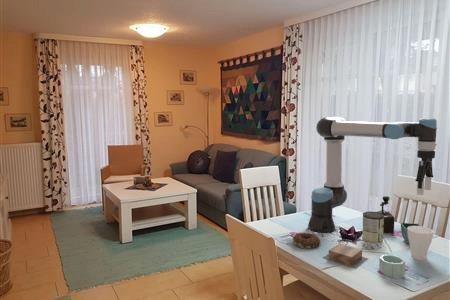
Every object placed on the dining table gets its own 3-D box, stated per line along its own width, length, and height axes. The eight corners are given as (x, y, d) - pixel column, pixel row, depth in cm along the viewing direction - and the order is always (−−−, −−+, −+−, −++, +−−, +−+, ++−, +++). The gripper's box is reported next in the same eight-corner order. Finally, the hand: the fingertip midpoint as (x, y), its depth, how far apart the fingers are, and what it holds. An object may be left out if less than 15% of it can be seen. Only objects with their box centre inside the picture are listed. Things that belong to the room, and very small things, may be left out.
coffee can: (361, 235, 187) (362, 210, 185) (381, 237, 183) (383, 212, 182) (362, 242, 177) (363, 216, 175) (384, 244, 174) (385, 218, 172)
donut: (287, 245, 175) (287, 236, 175) (302, 238, 185) (302, 229, 184) (312, 253, 165) (312, 243, 165) (326, 245, 175) (326, 235, 174)
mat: (322, 259, 158) (322, 258, 158) (336, 250, 168) (336, 248, 168) (355, 270, 147) (355, 268, 147) (368, 259, 157) (368, 258, 157)
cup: (431, 264, 151) (433, 235, 150) (405, 259, 157) (406, 231, 155) (432, 255, 160) (433, 228, 158) (406, 251, 166) (408, 224, 164)
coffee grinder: (395, 233, 188) (397, 202, 186) (374, 232, 190) (375, 201, 188) (387, 224, 204) (388, 195, 201) (368, 223, 206) (369, 194, 204)
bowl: (376, 272, 144) (377, 259, 143) (384, 265, 151) (384, 252, 150) (399, 280, 138) (399, 266, 137) (406, 272, 144) (407, 258, 144)
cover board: (328, 258, 157) (328, 250, 157) (339, 251, 165) (339, 243, 165) (351, 265, 150) (351, 257, 149) (362, 257, 157) (362, 249, 157)
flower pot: (423, 246, 171) (424, 229, 170) (404, 245, 173) (405, 228, 172) (417, 239, 179) (418, 223, 178) (399, 238, 181) (400, 222, 180)
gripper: (428, 153, 155) (425, 198, 158) (441, 148, 173) (438, 188, 175) (410, 151, 160) (407, 195, 163) (424, 147, 178) (422, 186, 181)
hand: (423, 192), depth 169 cm, fingers open, 13 cm apart
